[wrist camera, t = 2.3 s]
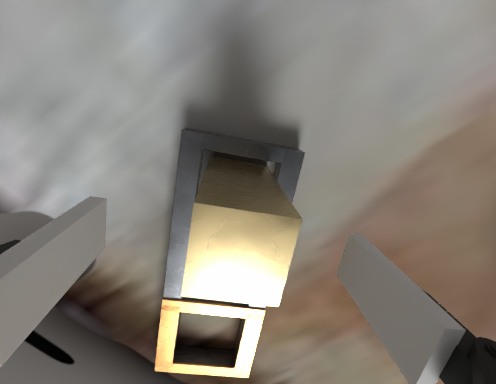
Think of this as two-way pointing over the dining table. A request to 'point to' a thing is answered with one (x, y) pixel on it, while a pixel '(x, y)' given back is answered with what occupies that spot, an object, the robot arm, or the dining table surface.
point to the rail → (173, 303)
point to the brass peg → (240, 235)
